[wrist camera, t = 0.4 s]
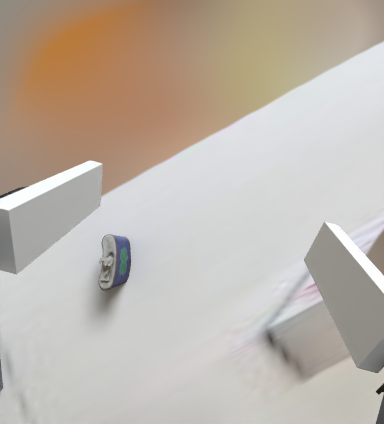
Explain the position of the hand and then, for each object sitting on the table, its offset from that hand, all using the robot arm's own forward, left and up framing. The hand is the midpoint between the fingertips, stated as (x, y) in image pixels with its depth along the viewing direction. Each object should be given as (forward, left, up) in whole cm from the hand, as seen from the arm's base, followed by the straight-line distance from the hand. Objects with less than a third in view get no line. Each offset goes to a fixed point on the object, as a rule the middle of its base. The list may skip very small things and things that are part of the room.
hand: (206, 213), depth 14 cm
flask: (-1, +15, -35) cm, 38 cm away
